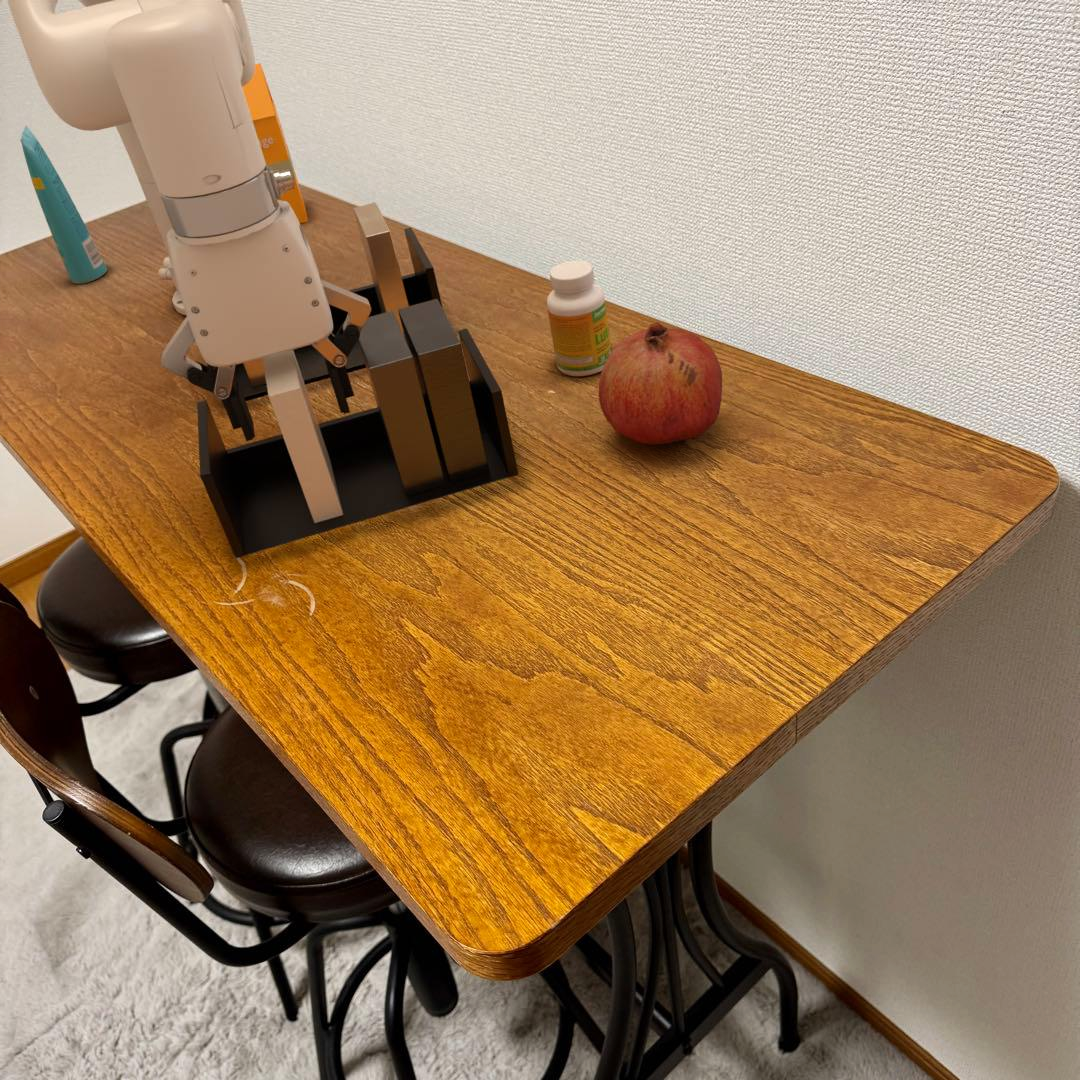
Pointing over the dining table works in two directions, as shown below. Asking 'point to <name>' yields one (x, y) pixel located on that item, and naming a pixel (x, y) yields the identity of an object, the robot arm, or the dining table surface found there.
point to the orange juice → (272, 137)
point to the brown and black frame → (381, 295)
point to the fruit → (661, 386)
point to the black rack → (373, 438)
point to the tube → (62, 215)
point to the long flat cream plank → (302, 435)
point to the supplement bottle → (578, 319)
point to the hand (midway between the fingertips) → (296, 417)
